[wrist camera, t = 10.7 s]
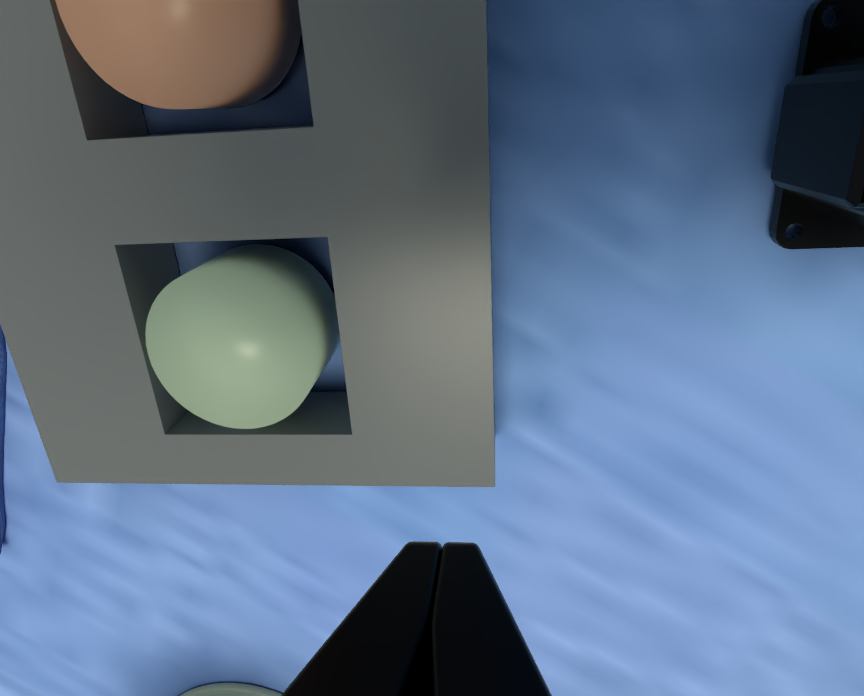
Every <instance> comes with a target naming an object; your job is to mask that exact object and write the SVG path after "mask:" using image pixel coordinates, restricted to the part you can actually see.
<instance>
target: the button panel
mask: <svg viewBox="0 0 864 696" xmlns="http://www.w3.org/2000/svg"><path fill="white" fill-rule="evenodd" d="M298 5H299V13H300V21H301V29H302V37H303V45H304V53H305V61H306V69H307V77H308V85H309V93H310V101H311V109H312V117H313V125H306V126H289V127H272V128H256V129H239V130H222V131H205V132H189V133H172V134H155V135H148V132H147V128H146V124H145V119H144V115H143V110H142V106H141V103H140V102H138V101H135V100H133V99H131V98H129V97H127V96H125V95H124V94H122V93H120V92H119V91H117V90H116V89H114V88H113V87H112V86H110V85H109V84H108V83H106V82H105V81H104V80H103V79H102V78H101V77H100V76H99V75H98V74H97V73H96V72H95V71H94V70H93V69H92V68H91V67H90V66H89V65H88V63H87V62H86V61H85V60H84V59H83V57H82V56H81V54H80V53H79V51H78V50H77V48H76V47H75V46H74V44H73V42H72V40H71V38H70V36H69V35H68V33H67V31H66V29H65V26H64V24H63V22H62V19H61V17H60V14H59V11H58V8H57V4H56V1H55V0H0V325H1V328H2V330H3V333H4V336H5V339H6V342H7V344H8V347H9V350H10V353H11V356H12V358H13V361H14V364H15V367H16V370H17V372H18V375H19V378H20V381H21V383H22V386H23V389H24V392H25V395H26V397H27V400H28V403H29V406H30V409H31V411H32V414H33V417H34V420H35V423H36V425H37V428H38V431H39V434H40V437H41V439H42V442H43V445H44V448H45V450H46V453H47V456H48V459H49V462H50V464H51V467H52V470H53V473H54V476H55V478H56V481H57V482H64V483H160V484H256V485H352V486H448V487H495V416H494V363H493V310H492V256H491V203H490V150H489V96H488V43H487V0H298ZM312 237H328V245H329V253H330V261H331V269H332V277H333V285H334V293H335V301H336V309H337V317H338V325H339V333H340V341H341V349H342V357H343V365H344V373H345V381H346V389H347V392H309V393H308V395H307V396H306V398H305V399H304V401H303V402H302V403H301V404H300V406H299V407H298V408H297V409H296V410H295V411H294V412H293V413H292V414H290V415H289V416H287V417H286V418H284V419H283V420H281V421H279V422H277V423H275V424H271V425H268V426H265V427H260V428H253V429H237V428H230V427H224V426H221V425H217V424H214V423H211V422H209V421H207V420H204V419H202V418H200V417H198V416H197V415H195V414H193V413H192V412H190V411H189V410H187V409H186V408H184V407H183V406H182V405H181V404H180V403H178V402H177V401H176V400H175V399H174V398H173V397H172V396H171V395H170V394H169V393H168V391H167V390H166V389H165V387H164V386H163V385H162V384H161V382H160V380H159V379H158V377H157V375H156V374H155V371H154V369H153V367H152V365H151V362H150V359H149V356H148V352H147V347H146V336H145V332H146V322H147V318H148V314H149V311H150V309H151V306H152V304H153V302H154V301H155V299H156V297H157V296H158V295H159V293H160V292H161V291H162V290H163V289H164V288H165V287H166V286H167V285H168V284H169V283H171V282H172V281H173V280H175V279H177V278H178V277H180V274H179V269H178V265H177V260H176V256H175V252H174V247H173V243H179V242H206V241H232V240H259V239H285V238H312Z"/></svg>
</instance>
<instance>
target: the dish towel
mask: <svg viewBox="0 0 864 696" xmlns="http://www.w3.org/2000/svg"><path fill="white" fill-rule="evenodd" d="M6 374H7V352H6V343H5V336H4V333H3V330H2V328H1V325H0V554H1V548H2V542H3V536H4V530H5V512H4V490H3V455H4V433H5V397H6Z"/></svg>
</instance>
